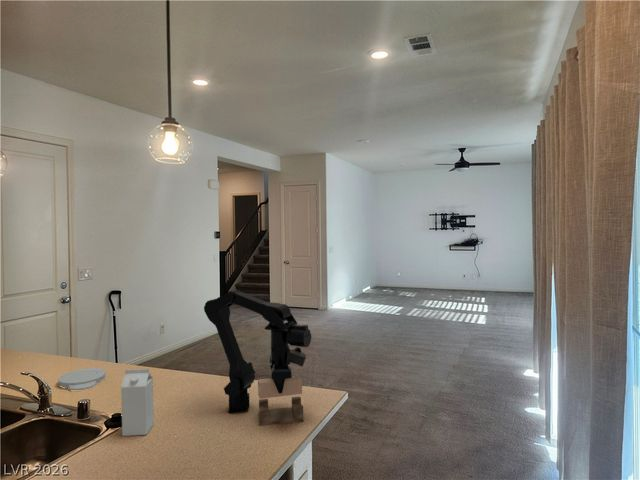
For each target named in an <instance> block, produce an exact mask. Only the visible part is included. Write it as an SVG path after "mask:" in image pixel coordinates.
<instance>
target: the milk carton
mask: <svg viewBox="0 0 640 480" xmlns="http://www.w3.org/2000/svg"><path fill="white" fill-rule="evenodd" d="M120 389H121V390H120V393H121V396H120V398H121V428H122V429H121V431H122V435H121V436H122V437H130V436H146V435H147V434H148V433H149V432H150V430H151V429H152V427H153V426H154V424H155V415H154V414H155V413H154V411H155V410H154V378H153V376H152V375H151V373H150V369H149V368H140V369H139V368H138V369H125V370H124V377H123V380H122V382H121V386H120Z"/></svg>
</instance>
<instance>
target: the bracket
mask: <svg viewBox="0 0 640 480" xmlns="http://www.w3.org/2000/svg"><path fill="white" fill-rule="evenodd" d="M258 408H259V409H258V416H259V417H258V420H259V422H258V423H259V426H265V425H279V424H290V423H303V422H304V420H305V419H304V404H302V397H301V396H293V397H291V407H281V408H280V407H279V408H277V407H276V408H269V398H263V399H258Z"/></svg>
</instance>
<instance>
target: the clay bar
mask: <svg viewBox="0 0 640 480" xmlns="http://www.w3.org/2000/svg"><path fill="white" fill-rule="evenodd" d="M302 394H303V378H302V376H301V375H300V374H297V375H292V378H288V379H285V383H284V387H283V392H282V393H281V394H279V393H278V390H277V388H276V386H275V383H274V381H273V379H271V377H270V378H258V379H257V395H258V396H257V397H258V398H259V400H261V399H270V398H278V397H286V396H293V395H294V396H295V395H302Z"/></svg>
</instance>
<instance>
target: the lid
mask: <svg viewBox="0 0 640 480" xmlns="http://www.w3.org/2000/svg"><path fill="white" fill-rule="evenodd" d="M106 374H107V371H106V370H105V369H103V368H100V367H88V368H82V369H76V370H72V371H69V372H66V373H63V374H61V375H60V376H59V377H58V379H57V382H58V385H60V386H62V387H65V388H69V389H70V390H84V391H86V390H85V389H88V390H90V389H89V388H91V389H93V388H92V387H94V386H95V385H96V386H97V385H98V384H100V383H99V382H101V381H102V380H103V379H104V378H105V379H106ZM105 379H104V380H105ZM104 380H103V381H104ZM103 381H102V382H103ZM102 382H101V383H102ZM97 383H98V384H97ZM60 386H59V387H60ZM96 386H95V387H96ZM95 387H94V388H95ZM69 389H68V390H69ZM70 390H69V391H70Z"/></svg>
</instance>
